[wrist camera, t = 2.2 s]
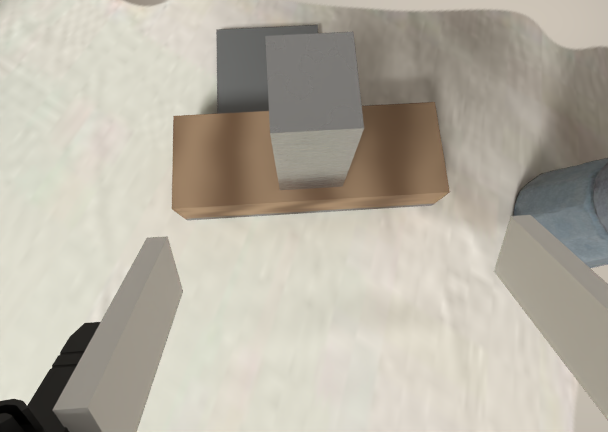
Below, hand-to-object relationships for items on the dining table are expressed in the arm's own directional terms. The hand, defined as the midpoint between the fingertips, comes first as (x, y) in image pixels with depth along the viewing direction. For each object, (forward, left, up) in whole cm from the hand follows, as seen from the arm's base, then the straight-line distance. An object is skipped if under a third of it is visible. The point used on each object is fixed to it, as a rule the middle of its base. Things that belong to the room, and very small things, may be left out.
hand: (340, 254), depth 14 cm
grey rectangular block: (-8, +6, -13) cm, 17 cm away
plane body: (-8, +6, -17) cm, 20 cm away
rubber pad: (-18, +9, -17) cm, 27 cm away
